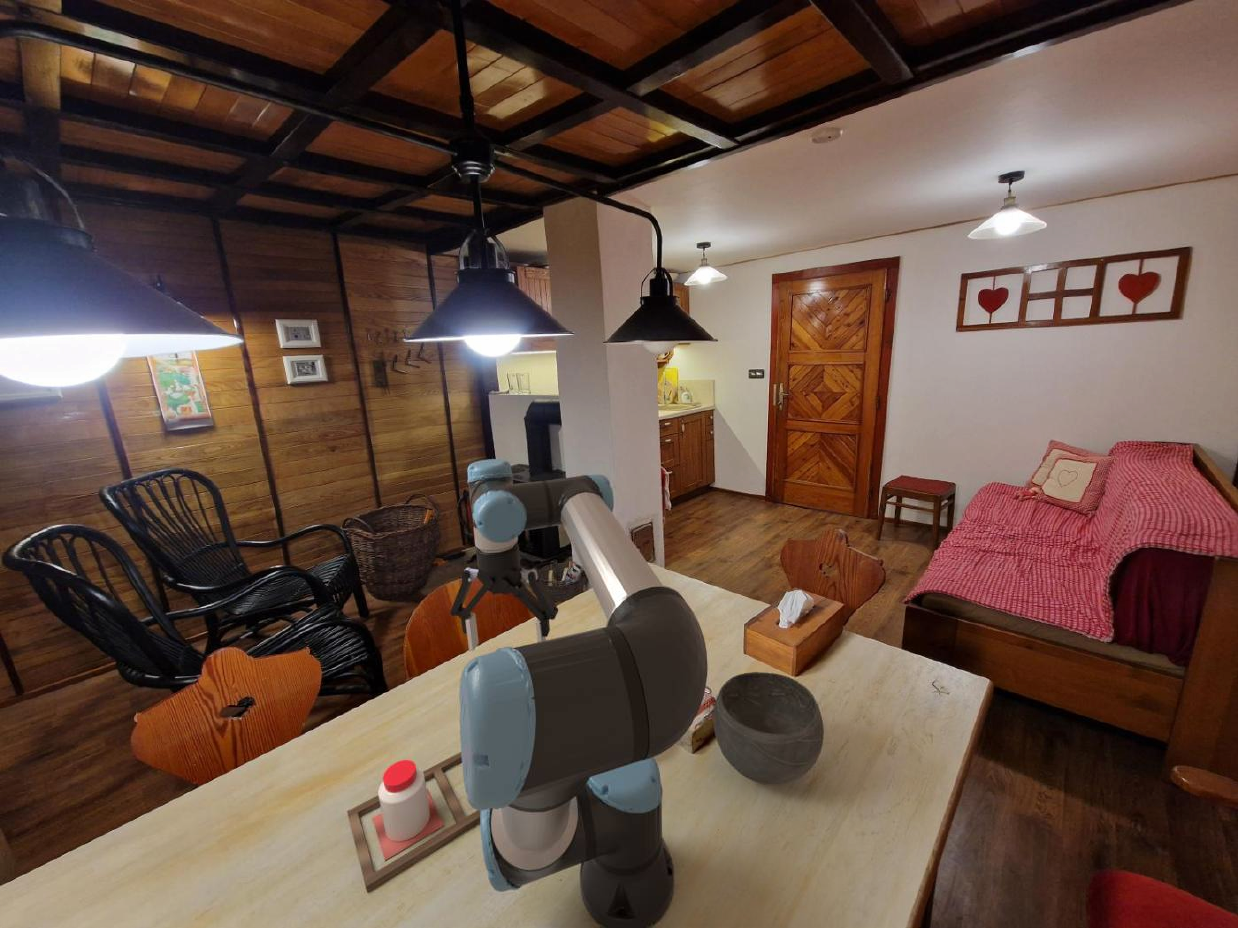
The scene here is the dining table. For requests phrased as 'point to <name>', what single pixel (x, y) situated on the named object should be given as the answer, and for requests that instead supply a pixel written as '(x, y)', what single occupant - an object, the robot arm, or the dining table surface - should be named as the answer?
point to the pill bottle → (403, 801)
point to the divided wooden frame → (422, 850)
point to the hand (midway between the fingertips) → (507, 648)
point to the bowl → (768, 727)
